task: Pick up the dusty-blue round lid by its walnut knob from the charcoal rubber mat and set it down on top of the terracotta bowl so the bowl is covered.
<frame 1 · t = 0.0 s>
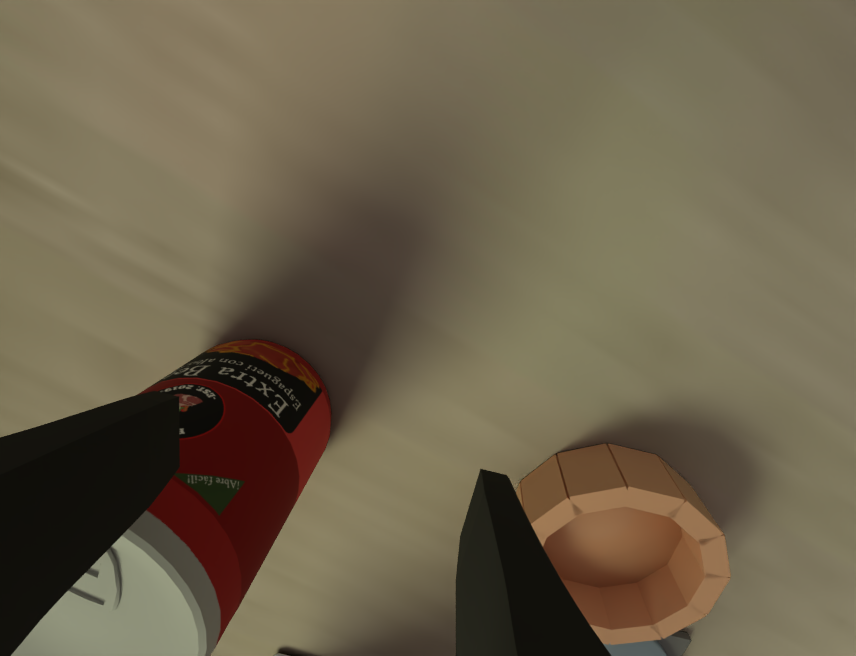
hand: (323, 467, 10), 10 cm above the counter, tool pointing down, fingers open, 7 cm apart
bowl: (599, 520, 22), on the counter
canned food: (265, 404, 22), on the counter
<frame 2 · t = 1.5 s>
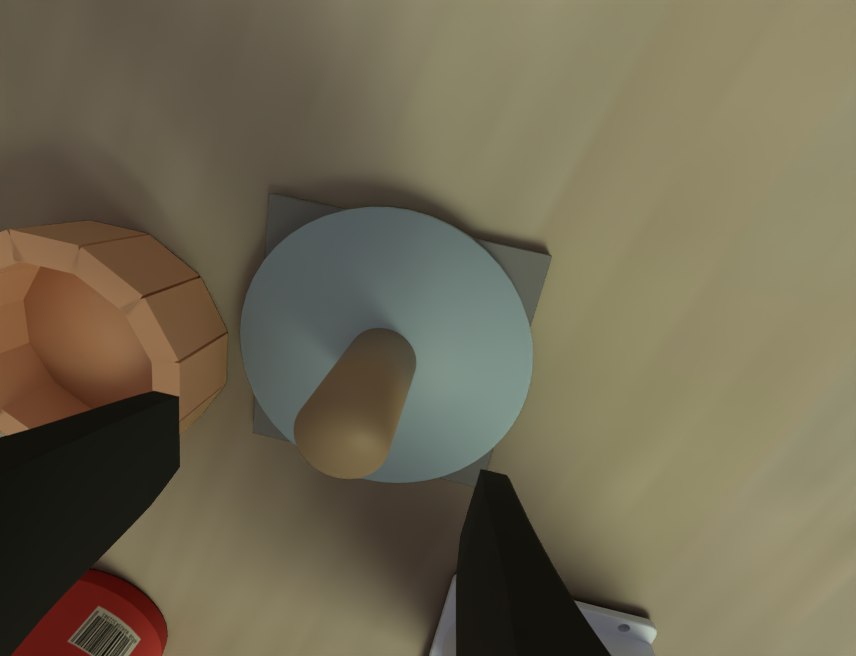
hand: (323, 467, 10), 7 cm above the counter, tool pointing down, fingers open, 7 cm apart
mat: (387, 350, 17), on the counter
lid: (385, 354, 16), resting on mat
bowl: (124, 334, 18), on the counter
canned food: (109, 612, 24), on the counter
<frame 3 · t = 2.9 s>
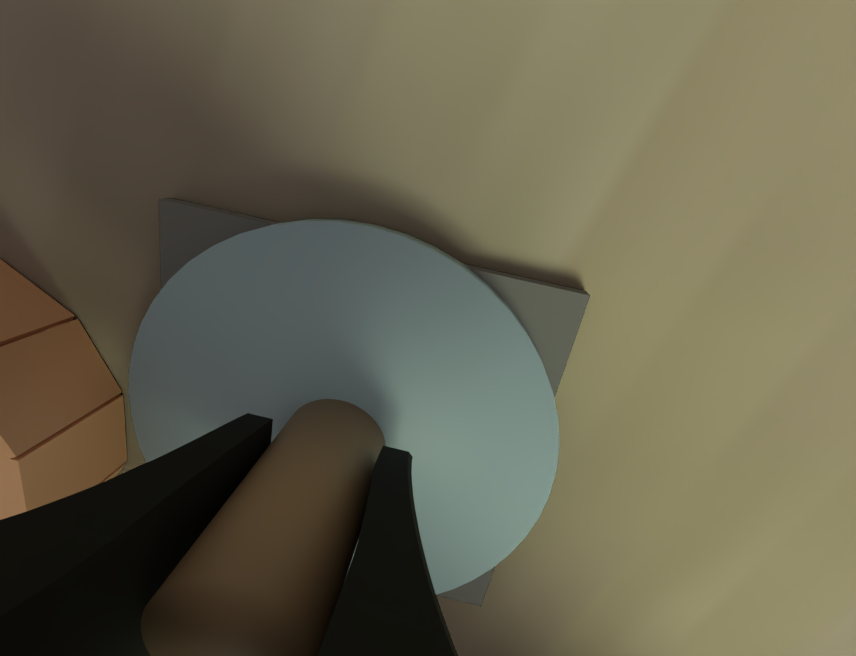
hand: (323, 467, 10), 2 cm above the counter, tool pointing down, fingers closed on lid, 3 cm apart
mat: (346, 423, 12), on the counter
lid: (342, 431, 11), resting on mat, touching gripper
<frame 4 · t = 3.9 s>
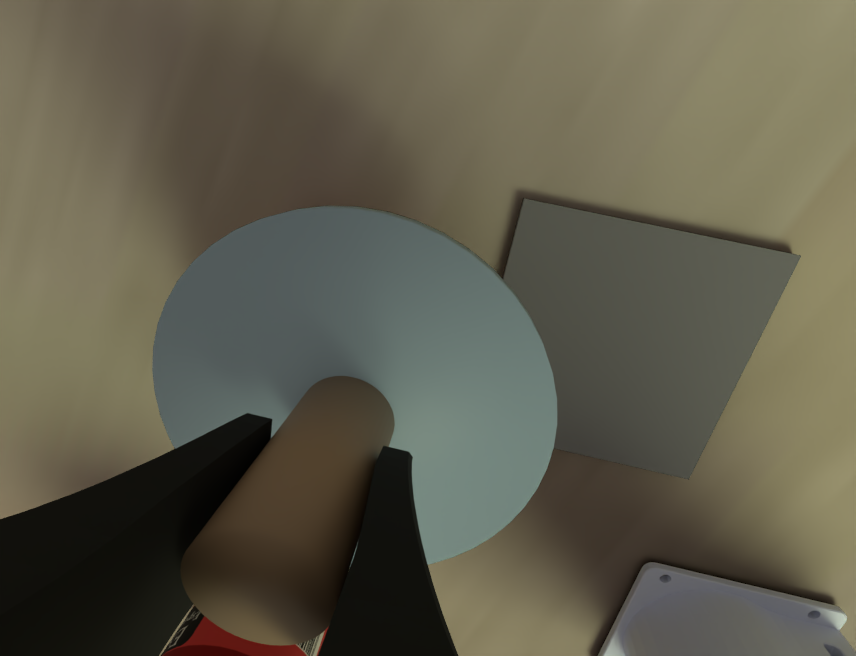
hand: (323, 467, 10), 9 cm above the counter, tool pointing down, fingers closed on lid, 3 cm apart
mat: (610, 347, 18), on the counter
lid: (353, 407, 12), point 7 cm above the counter, touching gripper
canned food: (276, 604, 25), on the counter
when the fingers open (6 cm above the counter, at t = 4.9 s): lid stays where it is, resting on bowl.
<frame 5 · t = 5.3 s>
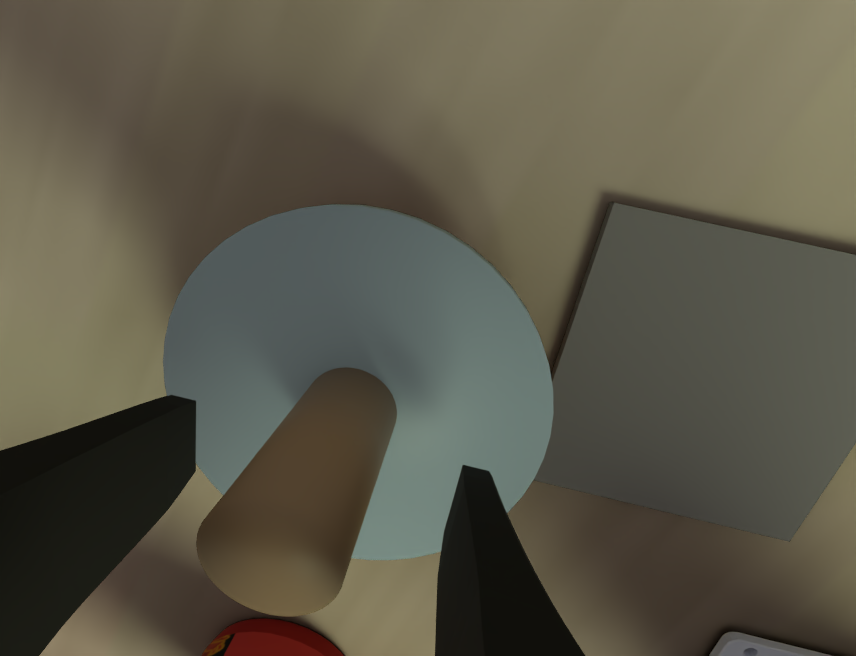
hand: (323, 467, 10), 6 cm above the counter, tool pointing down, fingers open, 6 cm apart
mat: (705, 385, 14), on the counter
lid: (356, 399, 13), point 3 cm above the counter, touching bowl
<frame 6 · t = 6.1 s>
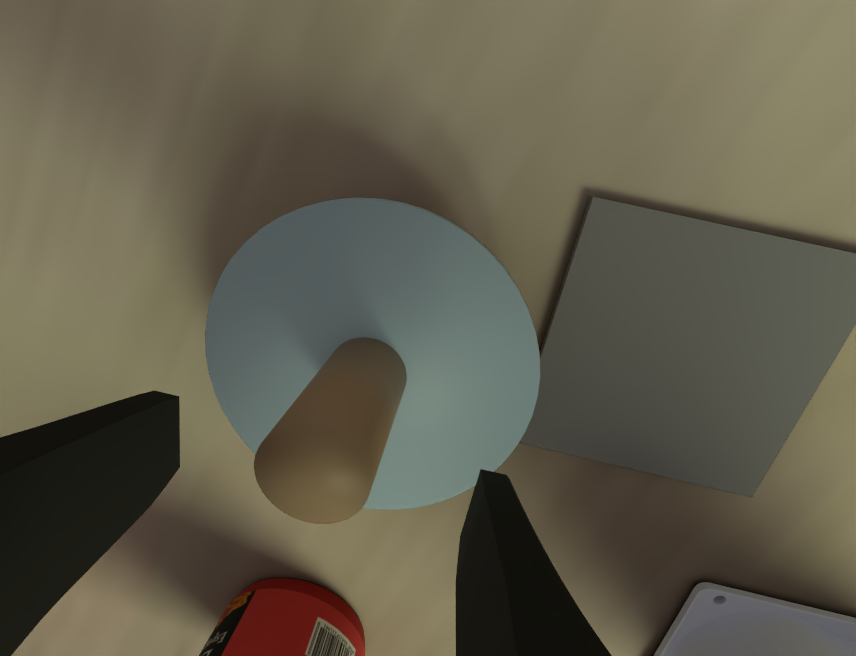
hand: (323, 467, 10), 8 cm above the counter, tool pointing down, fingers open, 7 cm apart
mat: (675, 357, 16), on the counter
lid: (371, 366, 14), point 3 cm above the counter, touching bowl
canned food: (300, 621, 24), on the counter
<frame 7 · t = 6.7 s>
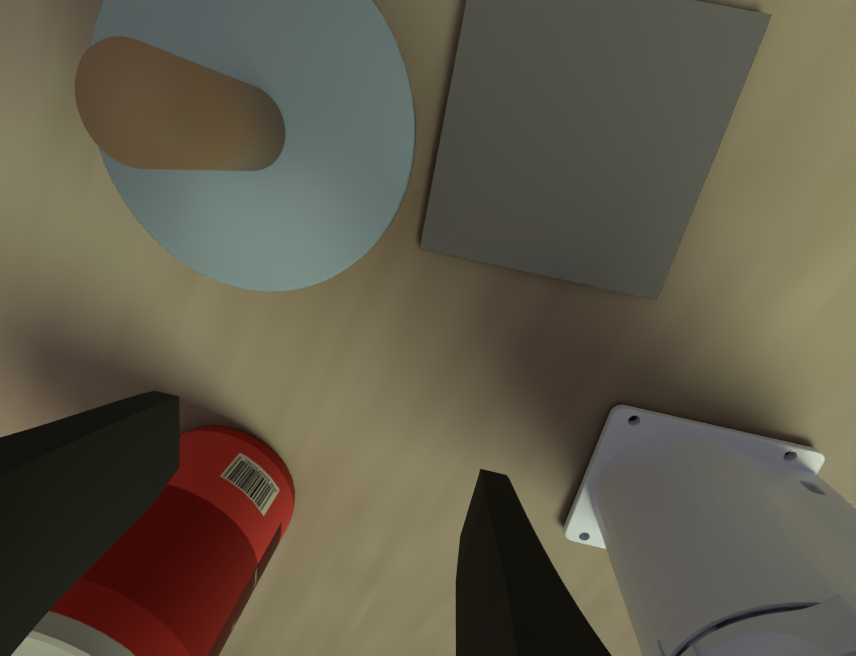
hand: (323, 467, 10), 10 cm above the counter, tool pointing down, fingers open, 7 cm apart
mat: (572, 146, 16), on the counter
lid: (255, 130, 15), point 3 cm above the counter, touching bowl
canned food: (233, 478, 24), on the counter
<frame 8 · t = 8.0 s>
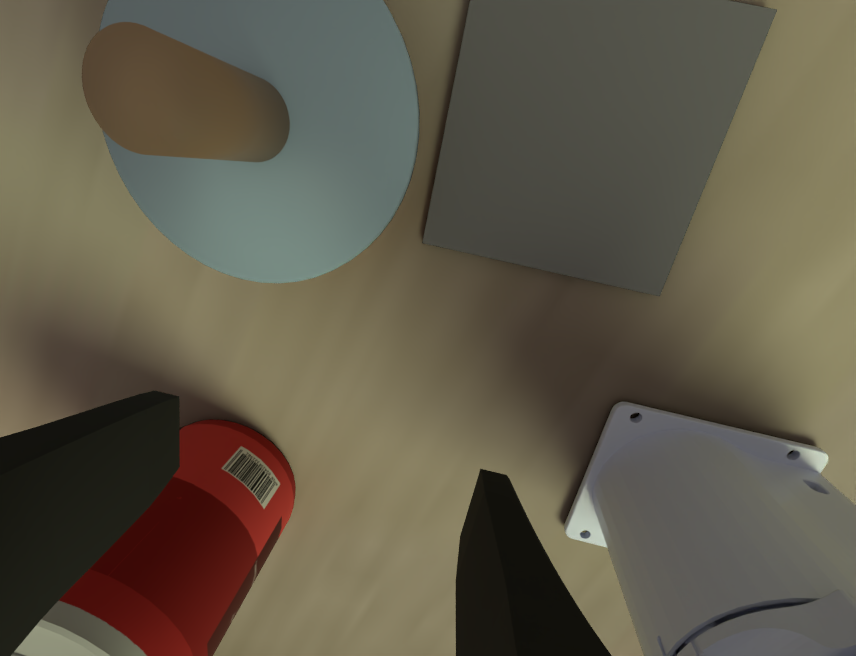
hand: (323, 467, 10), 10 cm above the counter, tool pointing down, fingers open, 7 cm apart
mat: (575, 141, 16), on the counter
lid: (260, 122, 15), point 3 cm above the counter, touching bowl
canned food: (234, 472, 24), on the counter
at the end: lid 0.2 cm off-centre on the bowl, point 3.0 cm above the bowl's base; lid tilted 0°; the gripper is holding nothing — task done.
